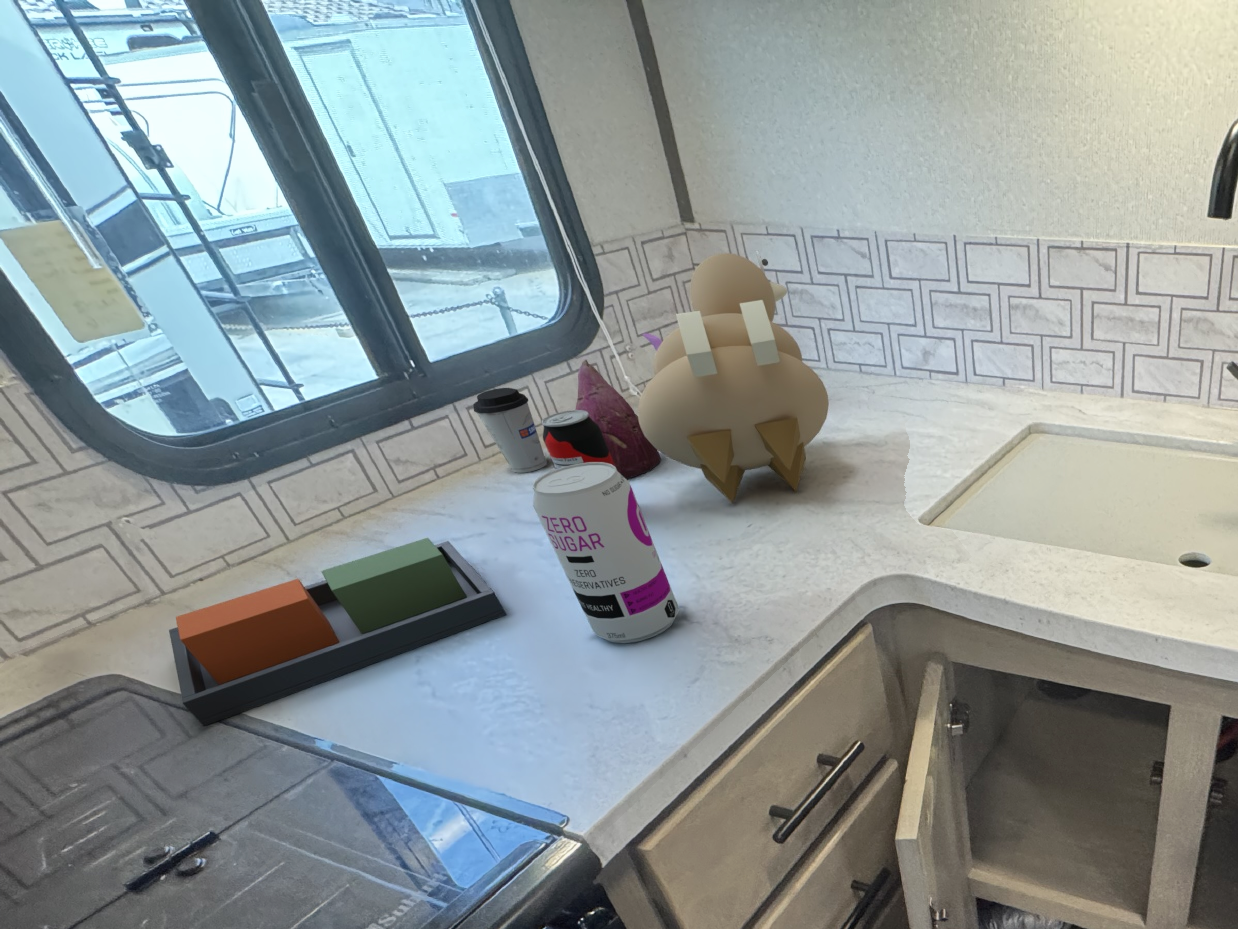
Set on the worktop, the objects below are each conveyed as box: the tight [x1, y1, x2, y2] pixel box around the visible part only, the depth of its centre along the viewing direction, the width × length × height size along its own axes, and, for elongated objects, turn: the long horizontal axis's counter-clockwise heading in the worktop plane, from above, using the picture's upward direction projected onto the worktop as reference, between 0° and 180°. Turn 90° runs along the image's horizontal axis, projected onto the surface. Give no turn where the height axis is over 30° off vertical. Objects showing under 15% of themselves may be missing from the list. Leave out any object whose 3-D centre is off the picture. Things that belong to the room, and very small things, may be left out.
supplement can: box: [532, 462, 680, 644], centre depth 79 cm, size 8×8×15 cm
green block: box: [321, 537, 467, 634], centre depth 87 cm, size 6×10×5 cm, turn 132°
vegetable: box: [574, 359, 662, 480], centre depth 114 cm, size 10×10×15 cm
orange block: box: [175, 578, 339, 685], centre depth 81 cm, size 6×10×5 cm, turn 132°
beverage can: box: [541, 409, 615, 470], centre depth 101 cm, size 6×6×12 cm
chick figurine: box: [637, 250, 830, 504], centre depth 102 cm, size 30×28×23 cm
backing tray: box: [168, 540, 507, 727], centre depth 85 cm, size 18×26×3 cm
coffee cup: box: [473, 387, 548, 474], centre depth 116 cm, size 7×7×10 cm
